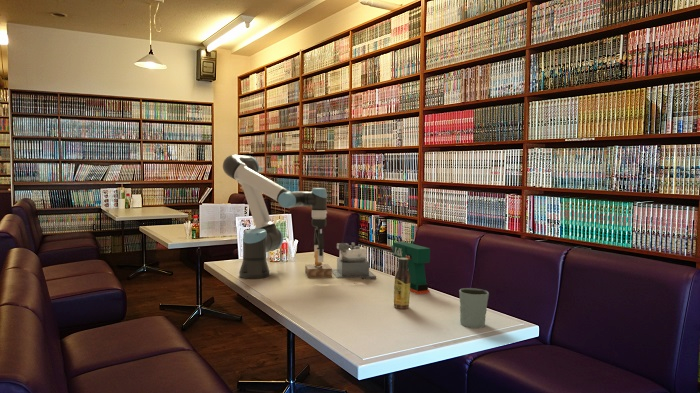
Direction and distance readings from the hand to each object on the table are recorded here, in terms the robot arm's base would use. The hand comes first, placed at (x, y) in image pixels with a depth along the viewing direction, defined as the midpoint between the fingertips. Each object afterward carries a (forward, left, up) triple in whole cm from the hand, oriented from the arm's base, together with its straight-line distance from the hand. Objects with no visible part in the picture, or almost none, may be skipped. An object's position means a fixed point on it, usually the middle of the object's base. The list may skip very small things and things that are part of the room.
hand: (318, 259), depth 246 cm
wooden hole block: (0, 0, -9) cm, 9 cm away
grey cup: (+44, -85, -9) cm, 96 cm away
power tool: (+38, -25, -9) cm, 46 cm away
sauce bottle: (+25, -61, -9) cm, 66 cm away
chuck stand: (+18, 0, -9) cm, 20 cm away
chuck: (+17, 0, 0) cm, 17 cm away
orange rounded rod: (0, 0, -8) cm, 8 cm away
